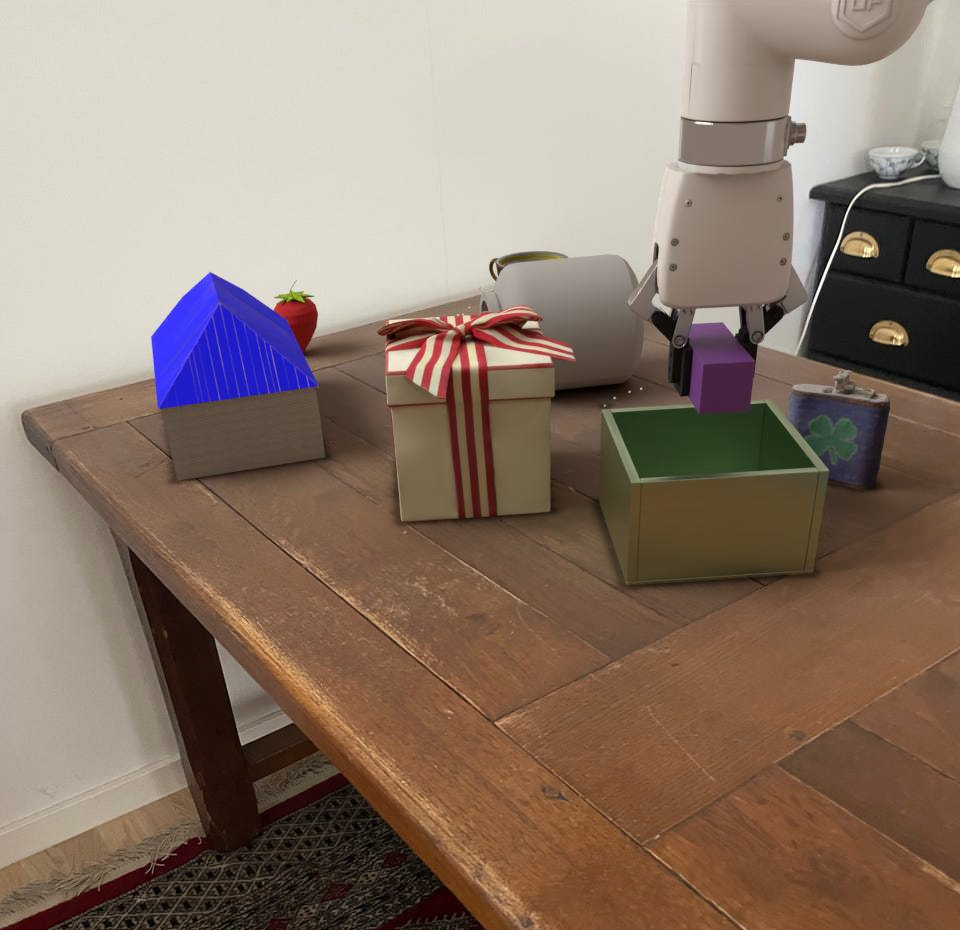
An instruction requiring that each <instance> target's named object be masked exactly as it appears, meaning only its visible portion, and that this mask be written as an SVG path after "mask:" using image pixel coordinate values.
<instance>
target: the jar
mask: <svg viewBox="0 0 960 930" xmlns="http://www.w3.org/2000/svg"><path fill="white" fill-rule="evenodd" d="M639 283H640V282H639V280H638V277H637V275H636V273H635V272H634V270H633V268H632V267H631V265H630V263H629V262H628V260H626V259H625V258H623V257H622V256H620V255H618V254H610V253H609V254H596V255H585V256H576V257H570V258H563V259H552V260H541V261H530V262H519V263H513V264H509V265H507V266H506V267H505V268H504V269H503V270H501V272H500V274H499V276H498V275H497V280H496V281H494V287H493V291H483V292H481V295H480V299H479V314H480V313H482V312H487V311H488V312H494V313H497V312H500V311H503V310H505V309H507V308H510V307H513V306H519V305H525V306H528V307H530V308H531V309H532V310H533V311H534V312H535V313H537V314H538V315H539V316H540V317H541V318H542V319H543V320H542V321H541V322H538V323H539V326H540V329H541V331H542V333H543V336H544V337H547V338H551V339H554V340H557V341H560V342H563V343H566V344H569V345H570V346H571V348H572V351H573V354H574V357H575V359H576V362H571V361H565V360H558V359H553V363H554V372H555V391H563V390H564V391H565V390H573V389H582V388H590V387H591V388H592V387H601V386H609V385H617V384H622V383H625V382H626V381H628V380H629V378H631V377H632V376H633V374H634V373H635V371H636V369H637V367H638V365H639V363H640V361H641V357H642V353H643V347H644V339H645V337H644V336H645V319H643V318H641V317H640V316H638V315H637V314H635V313H634V312H632V311H631V309H630V308H629V306H628V300H629V298H630V296H631V295H632V294H633V292H634V291H635V289H636V288H637V286H638V285H639ZM481 288H482V286H481V285H479V286H478V289H481ZM471 308H472V307H471V306H468V310H471ZM456 316H465V313H462V314H460V313H457V314H456ZM639 391H643V387H640V388H639ZM631 393H632V391H631V390H628V394H631ZM616 399H617V397H616V396H613V400H616ZM603 407H605V408H606V407H607V404H604V405H603Z"/></svg>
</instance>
